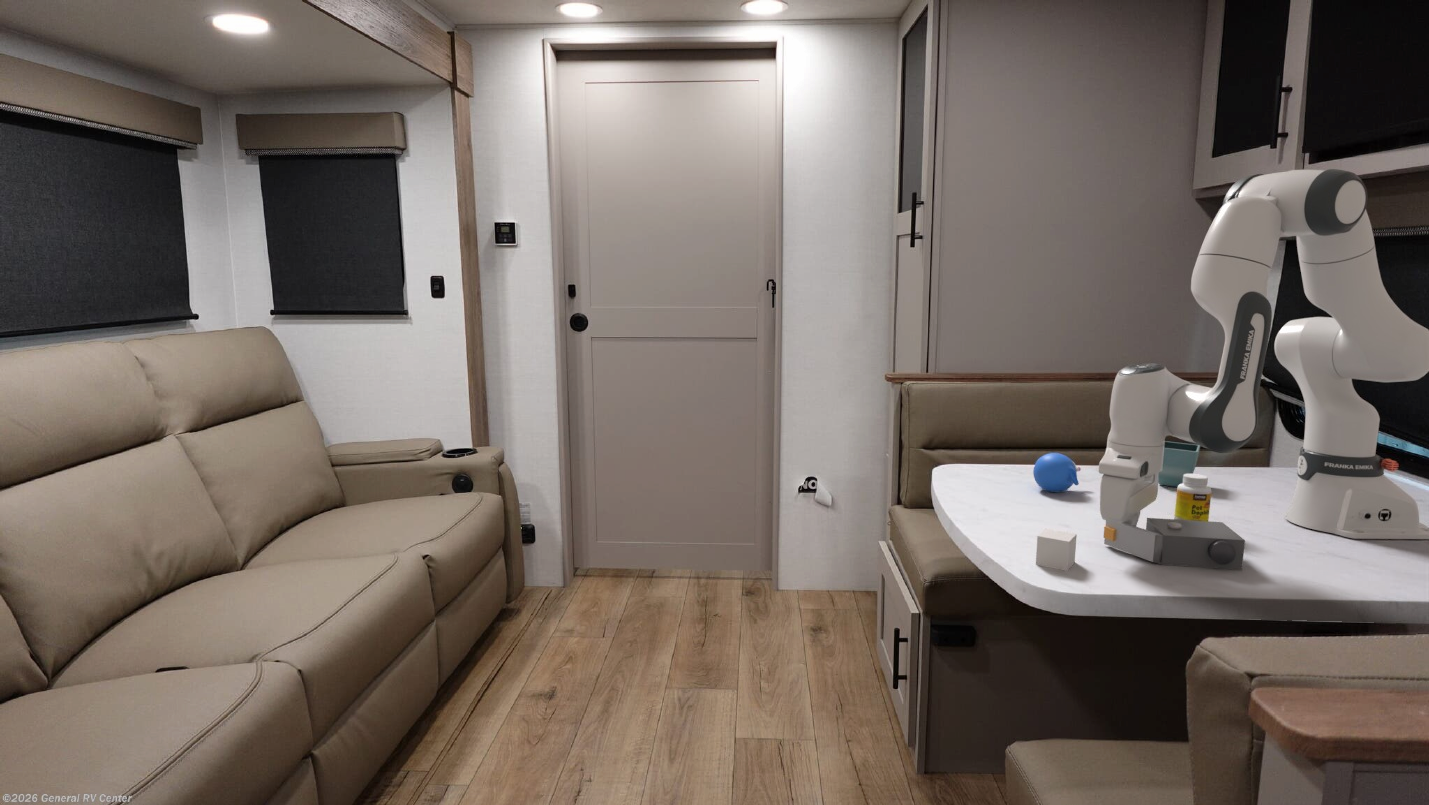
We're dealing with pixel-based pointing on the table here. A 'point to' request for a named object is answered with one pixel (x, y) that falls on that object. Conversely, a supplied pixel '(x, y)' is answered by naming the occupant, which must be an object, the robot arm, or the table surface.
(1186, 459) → the flower pot
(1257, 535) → the table surface
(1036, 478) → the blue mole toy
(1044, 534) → the white cube
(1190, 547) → the camera body
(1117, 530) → the side door
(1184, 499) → the supplement bottle
